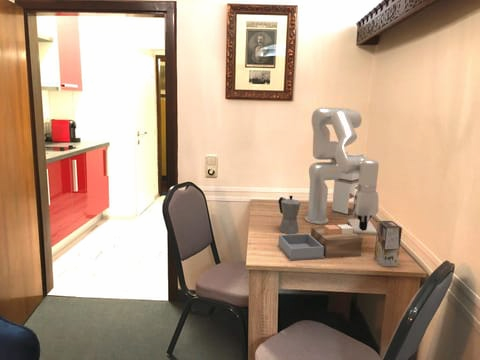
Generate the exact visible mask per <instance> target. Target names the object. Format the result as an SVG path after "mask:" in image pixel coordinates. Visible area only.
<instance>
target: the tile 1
mask: <svg viewBox="0 0 480 360" xmlns="http://www.w3.org/2000/svg"><path fill="white" fill-rule="evenodd" d="M323 227H324V231H325V232H326V233H327V234H329V235H336V234H340V228H339V227H337V225H336V224H326V225H325V224H324V225H323Z"/></svg>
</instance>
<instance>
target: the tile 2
mask: <svg viewBox="0 0 480 360" xmlns="http://www.w3.org/2000/svg"><path fill="white" fill-rule="evenodd" d="M336 226H337V227H339V228H340V233H341V234H353V227H351V226H349V225H348V223H347V224H346V223H345V224H337V225H336Z"/></svg>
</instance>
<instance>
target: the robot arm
mask: <svg viewBox="0 0 480 360" xmlns="http://www.w3.org/2000/svg"><path fill="white" fill-rule="evenodd" d="M361 124H362V116H361V114H360V112H358V111H357V110H354V109H350V108H344V107H329V106H327V107H319V108H316V109H314V111H313V112H312V115H311V128H312V132H313V133H312V134H313V135H312V136H313V137H312V156H313V158H314V159H315V160H320V161H321V160H322V161H323V160H324V161H323V162H322V161H321V162H313V163H312V164H310V166H309V168H308V175H309V193H308V194H309V195H308V209H307V215H306V216H304V221H306V222H307V223H310V224H316V225H323V224H324V225H325V224H327V223H329V217H327V208H328V207H327V206H328V194H329V188H328V186H327V183H326V182H325V181H334V180H337V179H339V178H340V177H341V175H342V173H344V174H359V180H358V185H355V196H354V197H353V201H352V207H351V209H352V211H353V215H352V217H353V218H355V219H356V218H357V220H360V222H359V228H360V229H361V230H362V231H364V230H366V229H367V224H368V221H370V220H371V219H372V218H374V217H376V216H377V215H378V213H379V192H378V191H377V186H378V174H379V161H377V160H375V159H371V158H369V157H368V156H364V157H347V155H346V153H345V152H346V150H345V148H346V147H348V146H350V145H352V144H353V143H355V142H356V140H357V139H358V134H357V132H356V129H357V128H359V127H361ZM327 125H329V126H330V125H331V126H332V128H333V130H334V133H335V135H336V138H337V141H336V140H335V141H334V140H333V141H331V133H330V129H329V127H328V126H327ZM325 160H327V162H326V161H325ZM328 160H330V161H328Z"/></svg>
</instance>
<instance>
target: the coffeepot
mask: <svg viewBox="0 0 480 360" xmlns="http://www.w3.org/2000/svg"><path fill="white" fill-rule="evenodd" d="M278 206H279V212H280V214H282V218H281V221H280V222H281V223H280V227H279V231H280V233H282V234H284V235H291V234H298V232H299V225H298V224H299V223H298V217H297V216H299V210H300V207H301V201H299V200H298V199H294V198H293V195H289V198H285V197H282V196H281V197H279V198H278Z"/></svg>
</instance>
